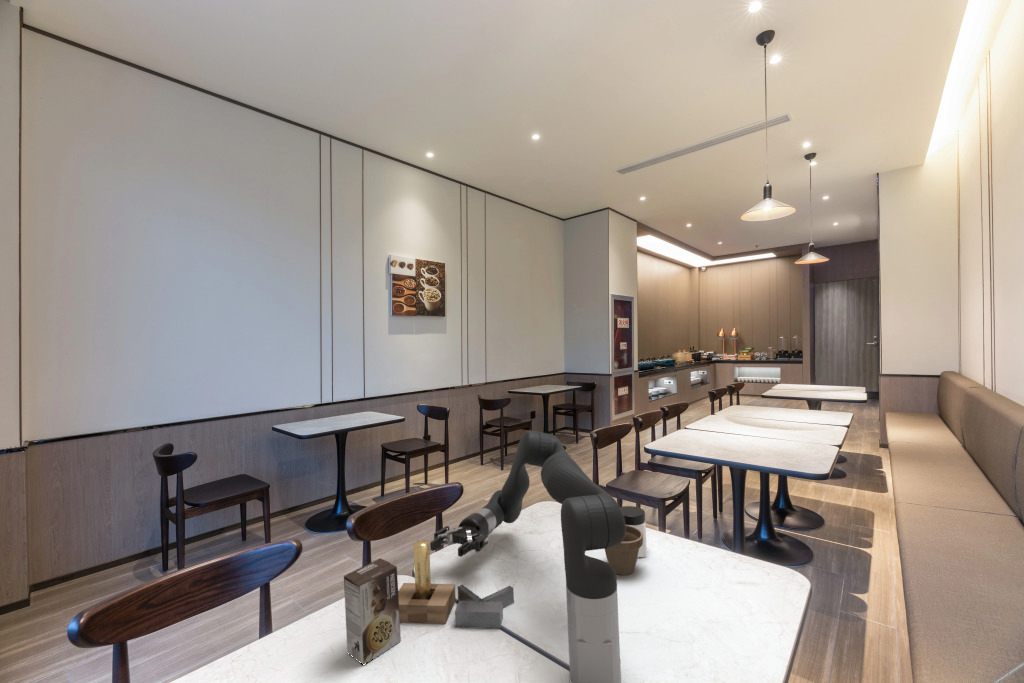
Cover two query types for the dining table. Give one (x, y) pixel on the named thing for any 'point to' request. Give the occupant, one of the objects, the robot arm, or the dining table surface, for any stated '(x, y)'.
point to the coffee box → (372, 610)
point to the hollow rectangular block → (426, 604)
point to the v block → (482, 608)
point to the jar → (636, 524)
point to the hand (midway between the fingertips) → (445, 550)
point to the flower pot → (625, 552)
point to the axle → (422, 570)
